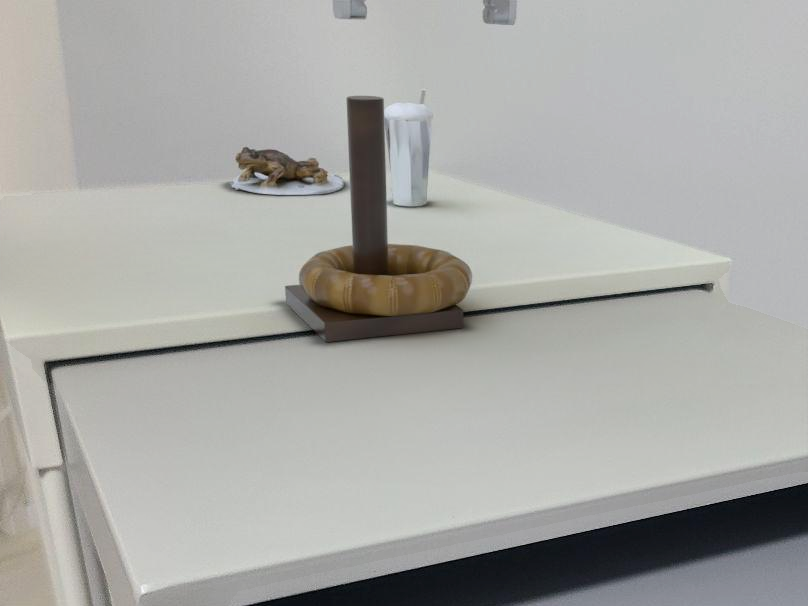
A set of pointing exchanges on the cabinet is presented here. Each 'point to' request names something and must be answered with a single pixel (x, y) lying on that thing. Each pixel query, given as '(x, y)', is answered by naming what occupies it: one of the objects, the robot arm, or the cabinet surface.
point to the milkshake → (409, 150)
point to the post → (367, 238)
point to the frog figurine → (282, 174)
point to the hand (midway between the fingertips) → (426, 21)
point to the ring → (387, 281)
